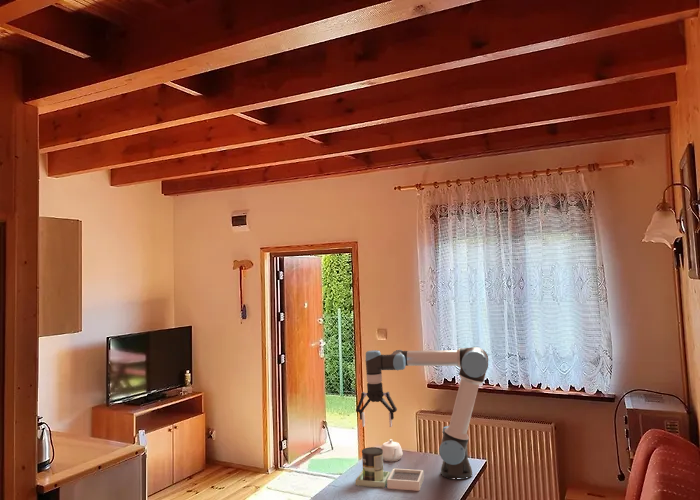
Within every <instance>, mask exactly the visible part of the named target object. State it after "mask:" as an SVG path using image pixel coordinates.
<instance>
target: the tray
mask: <svg viewBox="0 0 700 500" xmlns="http://www.w3.org/2000/svg"><path fill="white" fill-rule="evenodd" d="M390 473H391V471H387V470H386V471H385V470H383V474H384V481H383V482H381V481H367V480H363V469H362V470H361V472H360V473H359V475H358V476H357V478H356V479H355V487H367V488H369V487H370V488H381V489H385V488H386V486H387V479H388V477H389V475H390Z"/></svg>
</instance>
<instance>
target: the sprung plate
mask: <svg viewBox="0 0 700 500" xmlns="http://www.w3.org/2000/svg"><path fill="white" fill-rule="evenodd" d="M419 475H420V474H418V473H402V472H395V474H394V476H393V478H392V479H396V480H411V481H417V480H418V478H419Z"/></svg>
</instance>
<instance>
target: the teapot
mask: <svg viewBox="0 0 700 500" xmlns="http://www.w3.org/2000/svg"><path fill="white" fill-rule="evenodd" d="M380 448H381V449H383V461H386V462H397V461H399V460H401V458H402V457H403V454H404V453H403V449H402V447H401V444H400V443H399V442H398V441H393V439H392V438H390V439H389V440H388V441H385V442H383V443H382V445H381V447H380Z"/></svg>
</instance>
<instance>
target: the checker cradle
mask: <svg viewBox="0 0 700 500" xmlns="http://www.w3.org/2000/svg"><path fill="white" fill-rule="evenodd" d="M424 471H425V470H423V469H408V468H392V470H391V471H390V475H389V477H388V479H387V484H386V486H387V488H386V489H389V490H391V489H392V490H403V491H404V490H406V491H415V492H416V491H417V492H419V491H420V490H421V487H422V485H423V482H424V480H425V474H424V473H425V472H424ZM395 472H402V473H418V474H420V475H419V478H418V480H417V481H411V480H396V479H392V478H393V476H394V474H395Z"/></svg>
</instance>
